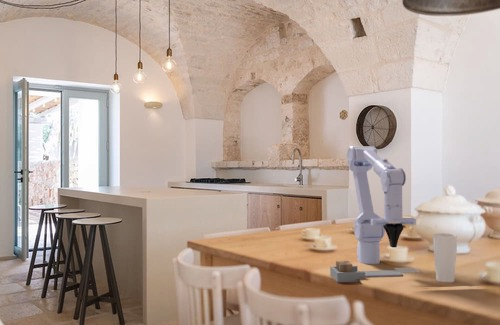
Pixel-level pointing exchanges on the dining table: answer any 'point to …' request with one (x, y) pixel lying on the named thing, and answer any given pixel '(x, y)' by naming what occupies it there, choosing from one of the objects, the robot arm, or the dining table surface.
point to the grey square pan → (360, 274)
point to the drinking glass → (445, 256)
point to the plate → (407, 270)
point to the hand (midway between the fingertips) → (393, 246)
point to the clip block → (343, 266)
